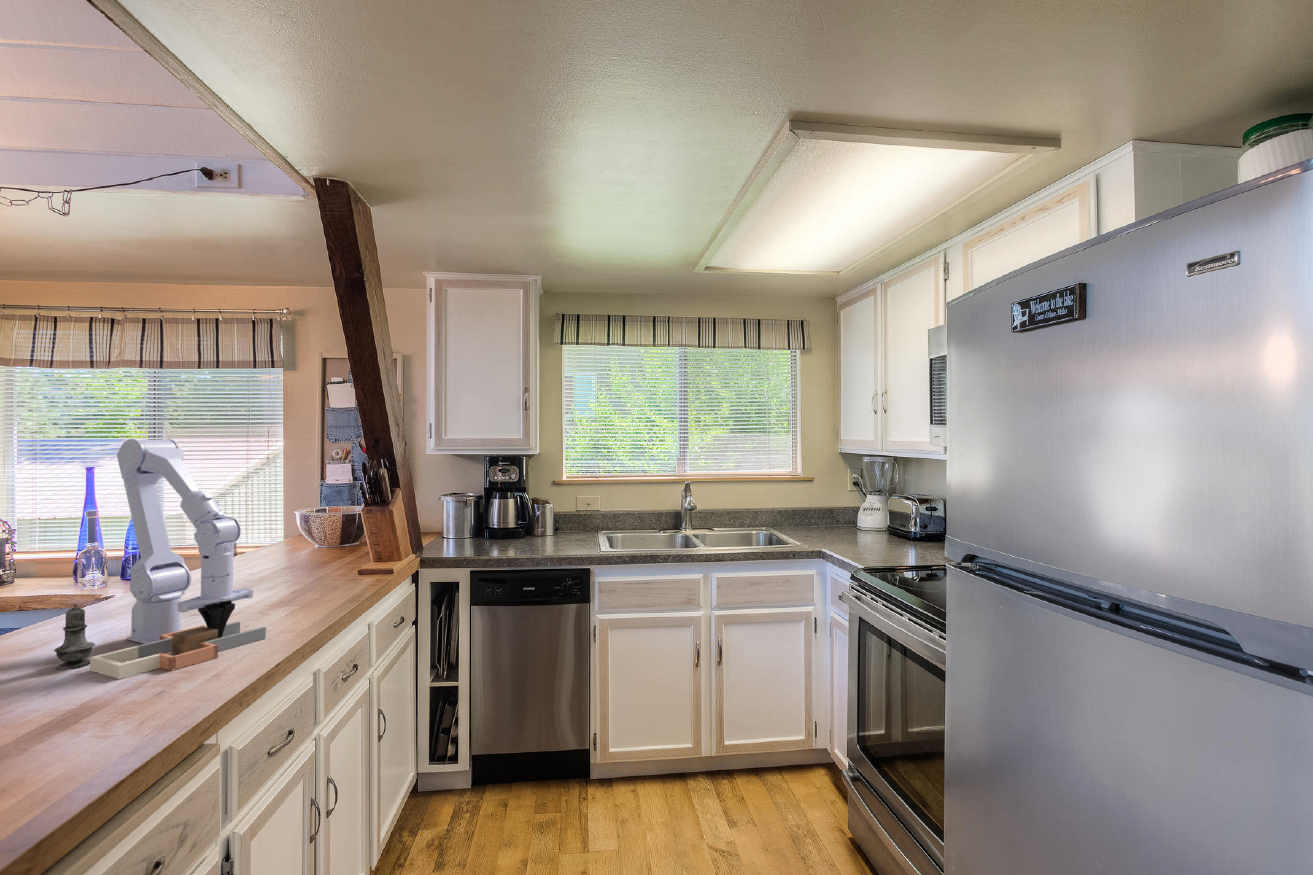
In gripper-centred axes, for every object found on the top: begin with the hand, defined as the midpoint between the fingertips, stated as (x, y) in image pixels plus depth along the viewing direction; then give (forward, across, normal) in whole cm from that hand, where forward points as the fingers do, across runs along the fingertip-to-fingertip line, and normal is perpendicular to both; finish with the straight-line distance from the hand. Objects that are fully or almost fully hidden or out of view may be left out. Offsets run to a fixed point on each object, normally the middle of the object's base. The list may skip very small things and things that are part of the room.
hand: (216, 638), depth 139 cm
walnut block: (+1, -4, 0) cm, 5 cm away
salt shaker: (+2, -20, +11) cm, 23 cm away
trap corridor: (+1, -6, 0) cm, 7 cm away
